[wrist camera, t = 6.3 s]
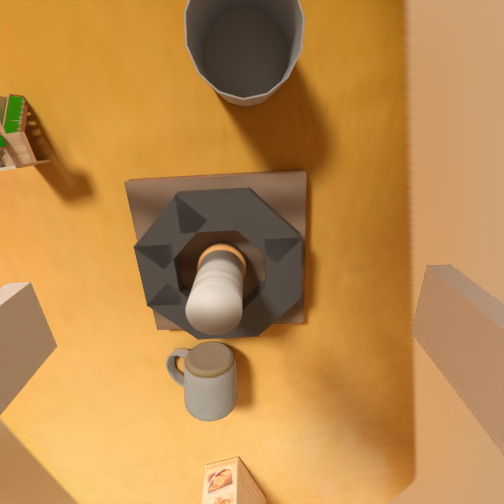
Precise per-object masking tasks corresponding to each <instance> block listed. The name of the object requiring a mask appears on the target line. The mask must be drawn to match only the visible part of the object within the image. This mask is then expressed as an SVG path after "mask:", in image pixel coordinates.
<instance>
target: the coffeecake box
mask: <svg viewBox="0 0 504 504" xmlns="http://www.w3.org/2000/svg"><path fill="white" fill-rule="evenodd" d="M205 467H206V468H205V476H204V484H203V492H202V500H201V504H266V498H265V496H264V495H263V493H262V492H261V490H260V489H259V487H258V486H257V484H256V483H255V481H254V480H253V478H252V477H251V475H250V474H249V472H248V471H247V469H246V468H245V466H244V465H243V463H242V461H241V460H240V458H239V457H235V458H232V459H228V460H224V461H220V462H215V463H211V464H208V465H206V466H205Z"/></svg>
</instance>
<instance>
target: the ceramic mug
mask: <svg viewBox="0 0 504 504" xmlns="http://www.w3.org/2000/svg"><path fill="white" fill-rule="evenodd" d="M176 356H181V357H183V358H186V359H185V363H184V375H182V374H181V373H180V372H179V371H178V369H177V368H176V366H175V358H176ZM166 366H167V370H168V373H169V374H170V376H171V377H172V378H173V380H174V381H175V382H177V383H178V384H179V385H180V386H182V387H184V397H185V406H186V408H187V410H188V412H189V413H190V414H191V415H192V416H193V417H195V418H197V419H199V420H202V421H216V420H219V419H222V418H224V417H226V416H227V415H228V414H229V413H230V412H231V411H232V410H233V409H234V407H235V405H236V403H237V368H236V359H235V355H234V353H233V351H232V350H231V349H230V348H229V347H228V346H227V345H225V344H223V343H219V342H205V343H201V344H199V345H197V346H195V347H194V348H192V349H191V350H190V351H189V350H187V349H182V348H181V349H180V348H179V349H176V350H174V351H173V352H172V353H171V354H170V355H169V357H168V358H167V361H166Z"/></svg>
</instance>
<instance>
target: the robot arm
mask: <svg viewBox="0 0 504 504" xmlns="http://www.w3.org/2000/svg"><path fill="white" fill-rule="evenodd" d="M411 332H412V334H413V335H414V336H415V338H416V339H417V340H418V342H419V343H420V344H421V346H422V347H423V348H424V350H425V351H426V352H427V354H428V355H429V356H430V358H431V359H432V360H433V362H434V363H435V364H436V366H437V367H438V368H439V370H440V371H441V372H442V373H443V375H444V376H445V378H446V379H447V380H448V382H449V383H450V384H451V386H452V387H453V388H454V389H455V391H456V392H457V393H458V395H459V396H460V397H461V399H462V400H463V401H464V403H465V404H466V405H467V407H468V408H469V409H470V411H471V412H472V413H473V415H474V416H475V417H476V419H477V420H478V421H479V423H480V424H481V425H482V427H483V428H484V429H485V431H486V432H487V433H488V434H489V436H490V437H491V439H492V440H493V441H494V443H495V444H496V445H497V446H498V448H499V449H500V450H501V452H502V453H503V455H504V304H503V303H501V302H500V301H499V300H497V299H496V298H494V297H493V296H492V295H490V294H489V293H488V292H486V291H485V290H483V289H482V288H481V287H479V286H478V285H477V284H476V283H474V282H473V281H471V280H470V279H469V278H467V277H466V276H465V275H463V274H462V273H460V272H459V271H458V270H457V269H455V268H454V267H453V266H451V265H435V266H427V268H426V272H425V276H424V280H423V284H422V289H421V293H420V297H419V301H418V305H417V309H416V314H415V318H414V322H413V326H412V330H411ZM56 347H57V344H56V342H55V340H54V337H53V335H52V332H51V330H50V328H49V325H48V323H47V320H46V318H45V316H44V313H43V311H42V308H41V306H40V304H39V301H38V299H37V296H36V294H35V292H34V289H33V287H32V284H31V282H24V283H7V284H6V285H4V286H3V287H1V288H0V415H1V414H2V412H3V411H4V410H5V409H6V408H7V406H8V405H9V404H10V403H11V402H12V400H13V399H14V398H15V397H16V395H17V394H18V393H19V392H20V391H21V389H22V388H23V387H24V386H25V385H26V383H27V382H28V381H29V380H30V379H31V377H32V376H33V375H34V374H35V372H36V371H37V370H38V369H39V368H40V366H41V365H42V364H43V363H44V362H45V360H46V359H47V358H48V357H49V356H50V354H51V353H52V352H53V351H54V349H55V348H56Z"/></svg>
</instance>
